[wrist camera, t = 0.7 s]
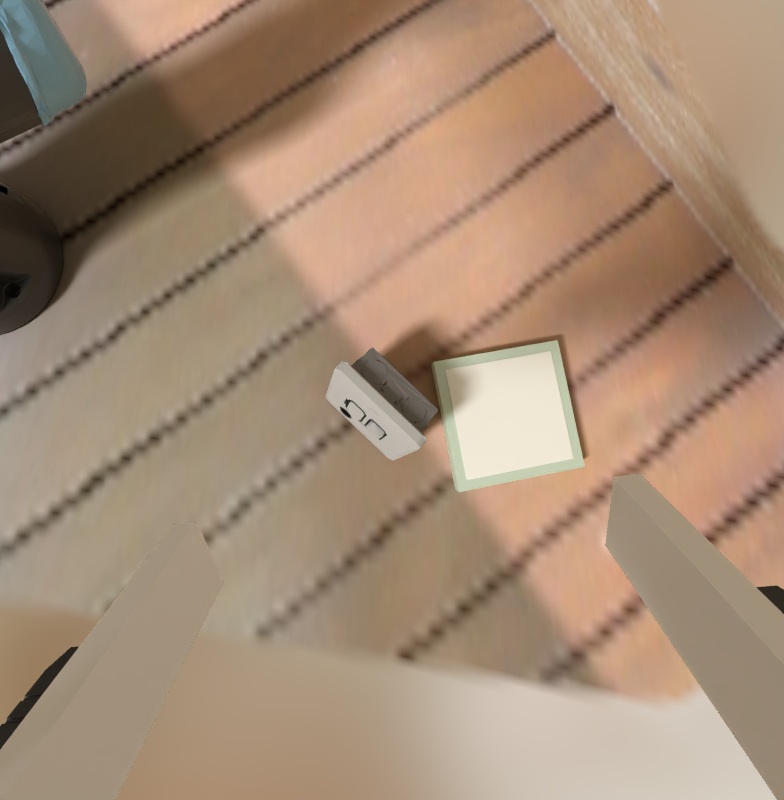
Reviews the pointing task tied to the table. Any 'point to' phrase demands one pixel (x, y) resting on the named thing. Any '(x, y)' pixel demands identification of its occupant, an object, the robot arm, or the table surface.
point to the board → (507, 415)
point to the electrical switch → (381, 404)
